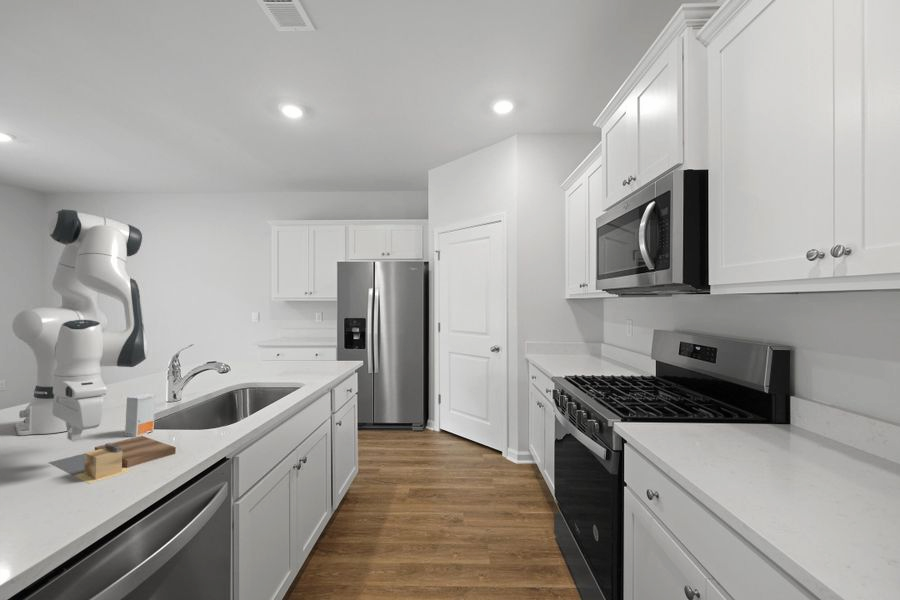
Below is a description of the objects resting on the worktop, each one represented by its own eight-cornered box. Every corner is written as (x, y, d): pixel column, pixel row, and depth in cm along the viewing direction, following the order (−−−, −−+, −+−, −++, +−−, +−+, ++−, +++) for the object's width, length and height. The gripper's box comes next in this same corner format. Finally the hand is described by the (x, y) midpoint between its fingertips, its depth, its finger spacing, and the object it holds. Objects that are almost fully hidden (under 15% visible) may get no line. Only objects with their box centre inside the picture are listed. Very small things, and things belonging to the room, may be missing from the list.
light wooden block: (84, 474, 94) (85, 448, 95) (109, 466, 99) (110, 442, 99) (95, 479, 92) (96, 453, 92) (121, 471, 96) (122, 446, 96)
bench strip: (48, 463, 101) (48, 462, 101) (88, 453, 108) (88, 452, 108) (89, 484, 90) (89, 483, 90) (131, 472, 97) (131, 470, 97)
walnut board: (94, 454, 107) (94, 447, 107) (141, 442, 117) (141, 435, 117) (127, 468, 99) (127, 460, 99) (175, 454, 108) (175, 447, 108)
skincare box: (136, 437, 121) (137, 398, 121) (124, 436, 122) (125, 397, 122) (154, 431, 127) (155, 394, 127) (143, 430, 128) (144, 393, 128)
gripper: (46, 380, 103) (42, 434, 103) (76, 393, 93) (72, 452, 93) (77, 377, 108) (74, 428, 108) (110, 388, 98) (106, 445, 98)
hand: (74, 439), depth 100 cm, fingers closed
